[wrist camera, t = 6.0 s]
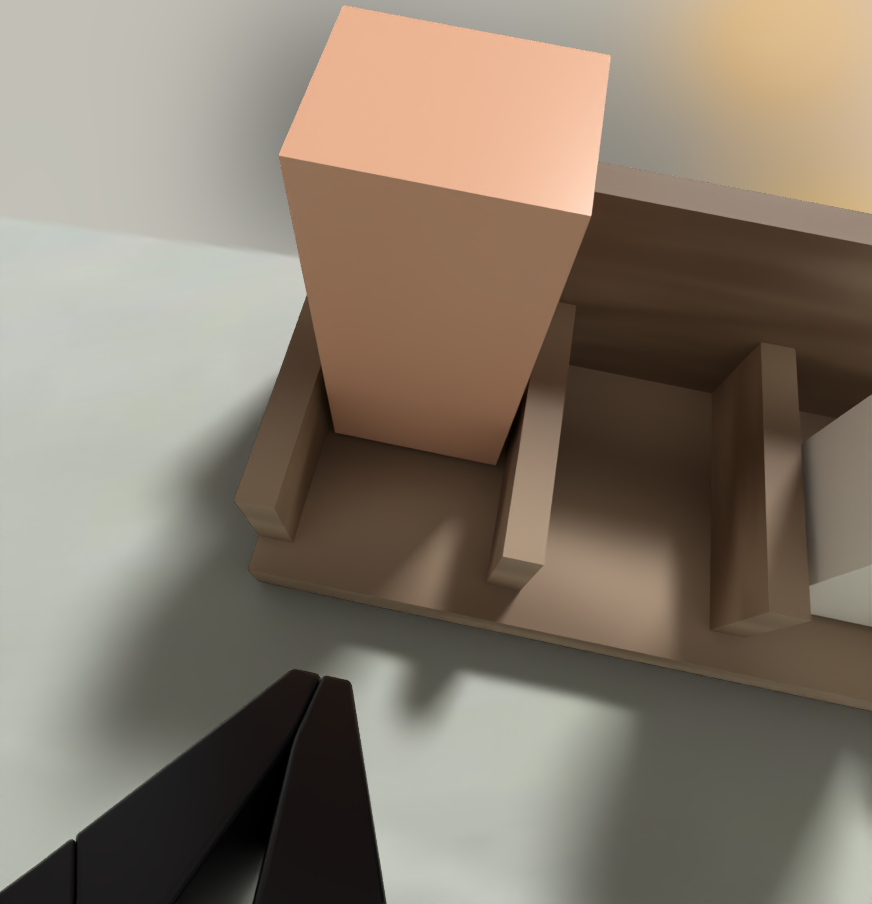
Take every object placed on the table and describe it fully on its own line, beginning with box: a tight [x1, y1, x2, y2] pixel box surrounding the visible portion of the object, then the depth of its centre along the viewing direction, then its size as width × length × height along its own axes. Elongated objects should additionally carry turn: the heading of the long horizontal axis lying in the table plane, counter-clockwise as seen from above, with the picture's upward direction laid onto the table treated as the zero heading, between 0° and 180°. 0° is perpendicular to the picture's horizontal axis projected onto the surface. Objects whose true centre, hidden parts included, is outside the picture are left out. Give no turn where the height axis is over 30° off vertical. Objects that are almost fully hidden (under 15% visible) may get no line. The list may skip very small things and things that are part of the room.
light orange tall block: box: [279, 5, 611, 465], centre depth 15 cm, size 4×5×10 cm
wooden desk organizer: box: [234, 162, 872, 711], centre depth 16 cm, size 10×21×8 cm, turn 79°
